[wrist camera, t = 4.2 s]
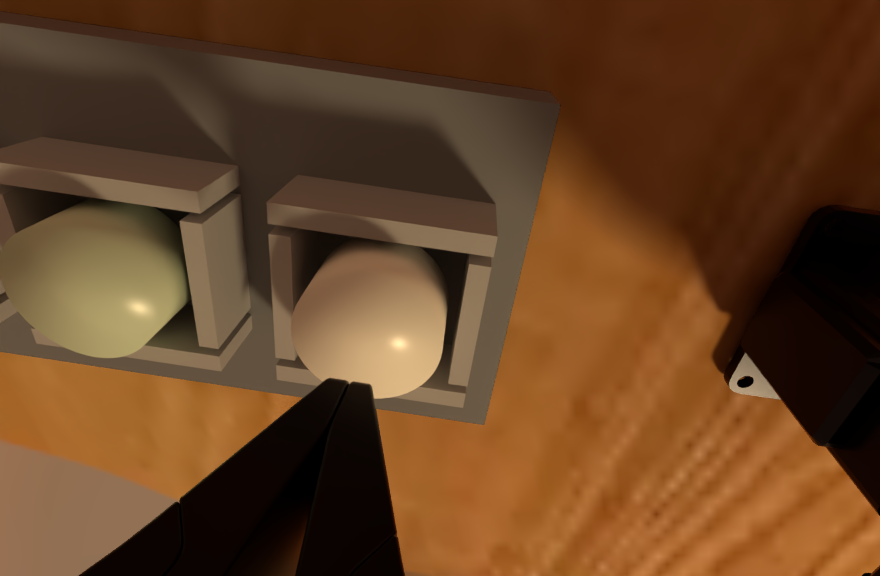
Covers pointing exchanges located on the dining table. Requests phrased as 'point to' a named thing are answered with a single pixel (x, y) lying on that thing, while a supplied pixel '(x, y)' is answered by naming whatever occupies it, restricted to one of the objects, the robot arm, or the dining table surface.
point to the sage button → (98, 276)
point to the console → (273, 189)
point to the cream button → (373, 316)
